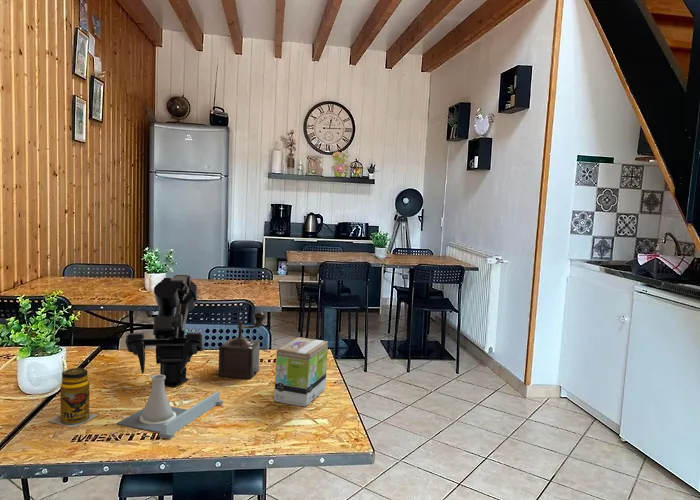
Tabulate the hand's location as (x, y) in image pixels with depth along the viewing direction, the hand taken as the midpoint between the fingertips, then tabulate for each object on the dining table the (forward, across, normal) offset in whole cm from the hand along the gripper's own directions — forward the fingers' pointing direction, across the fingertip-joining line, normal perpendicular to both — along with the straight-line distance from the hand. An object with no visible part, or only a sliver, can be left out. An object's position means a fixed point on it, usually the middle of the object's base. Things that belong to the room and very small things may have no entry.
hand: (161, 372), depth 128 cm
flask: (+10, 0, +3) cm, 11 cm away
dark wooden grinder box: (-13, +20, +28) cm, 37 cm away
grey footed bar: (+11, +8, +2) cm, 14 cm away
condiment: (+10, -20, +5) cm, 22 cm away
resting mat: (+11, 0, +3) cm, 11 cm away
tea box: (+2, +36, +12) cm, 38 cm away
